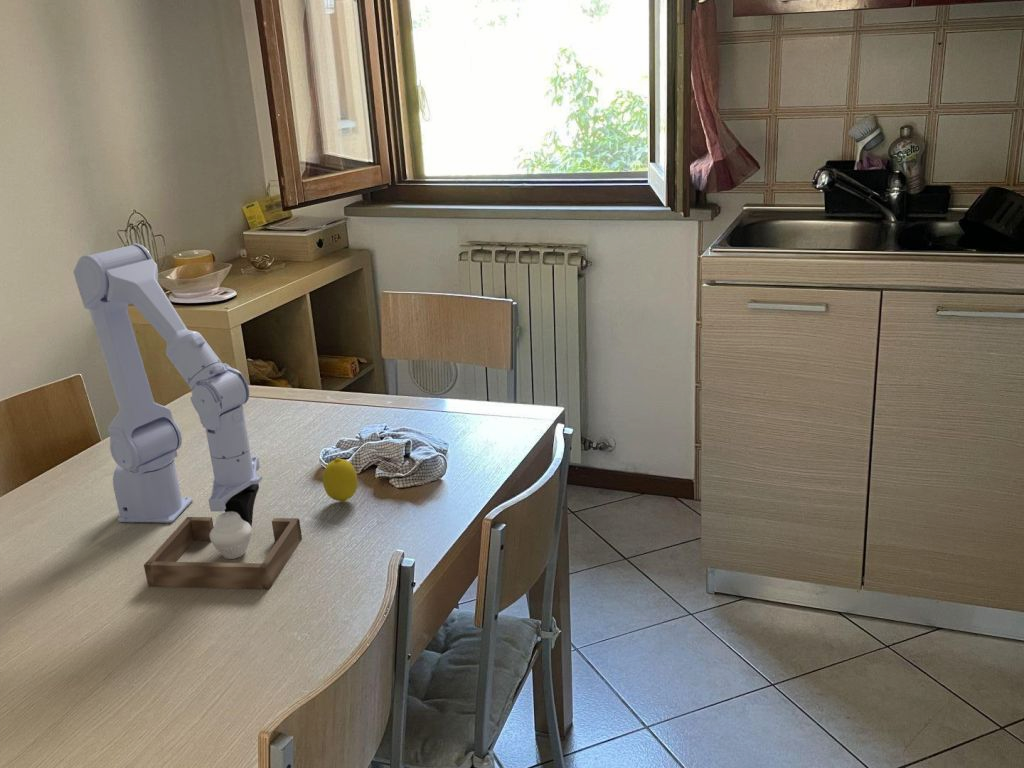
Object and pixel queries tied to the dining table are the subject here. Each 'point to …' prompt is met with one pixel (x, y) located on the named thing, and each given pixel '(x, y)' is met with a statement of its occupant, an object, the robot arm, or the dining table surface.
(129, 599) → the dining table surface
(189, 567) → the brown wooden u-shaped frame
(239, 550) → the muffin
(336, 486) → the lemon
